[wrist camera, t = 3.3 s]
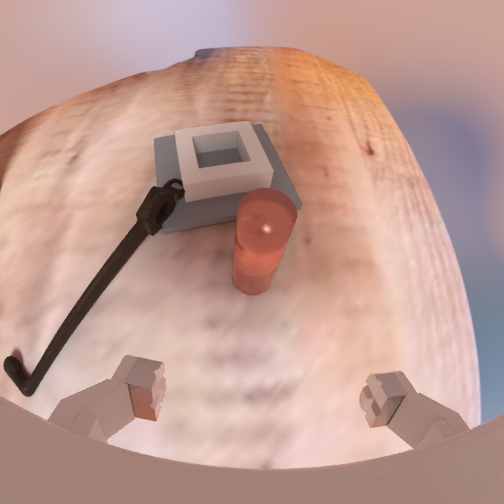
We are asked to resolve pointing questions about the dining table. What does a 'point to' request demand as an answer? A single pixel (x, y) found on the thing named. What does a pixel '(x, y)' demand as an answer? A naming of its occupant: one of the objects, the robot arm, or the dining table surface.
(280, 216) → the pin
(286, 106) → the dining table surface
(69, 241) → the dining table surface
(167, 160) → the socket board
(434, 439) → the robot arm
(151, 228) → the black hooked rod
